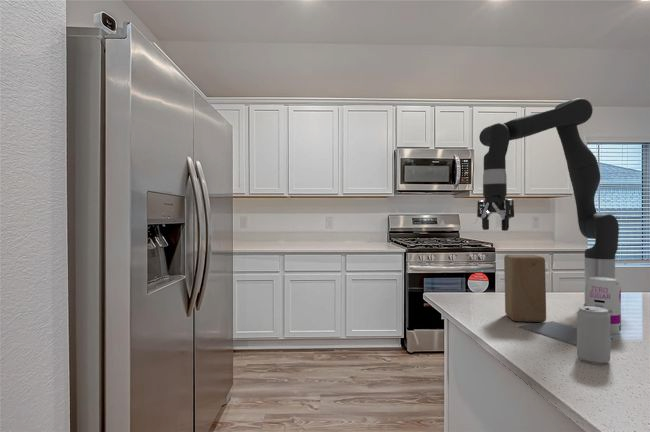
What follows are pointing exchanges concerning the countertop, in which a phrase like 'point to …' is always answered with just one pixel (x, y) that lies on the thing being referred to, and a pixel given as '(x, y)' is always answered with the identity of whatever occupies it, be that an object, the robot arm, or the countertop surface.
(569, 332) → the mat
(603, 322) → the beverage can
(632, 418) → the countertop surface
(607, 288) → the supplement can
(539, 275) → the wooden block
